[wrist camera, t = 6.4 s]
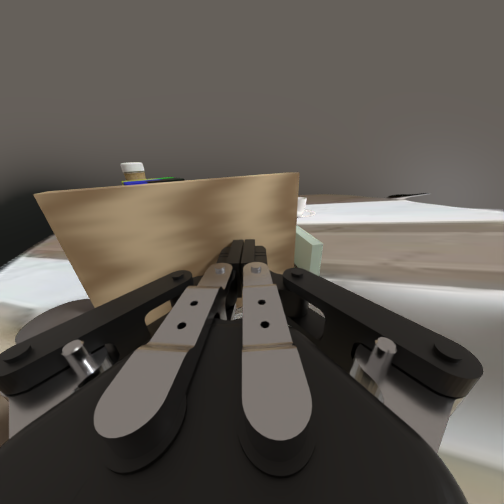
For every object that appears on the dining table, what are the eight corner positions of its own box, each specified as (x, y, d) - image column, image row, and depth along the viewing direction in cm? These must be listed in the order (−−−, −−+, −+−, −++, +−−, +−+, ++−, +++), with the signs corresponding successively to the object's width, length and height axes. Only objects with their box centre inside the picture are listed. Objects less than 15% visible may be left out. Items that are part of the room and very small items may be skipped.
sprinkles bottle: (142, 217, 51) (125, 163, 45) (159, 215, 52) (145, 162, 46) (135, 221, 47) (115, 163, 41) (153, 220, 47) (137, 162, 42)
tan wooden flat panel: (31, 393, 10) (-149, 212, 6) (61, 341, 13) (-43, 196, 9) (300, 297, 16) (310, 173, 12) (278, 277, 19) (281, 172, 15)
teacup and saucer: (295, 221, 42) (296, 203, 40) (274, 214, 48) (274, 198, 47) (322, 215, 46) (324, 198, 44) (299, 209, 52) (300, 194, 51)
